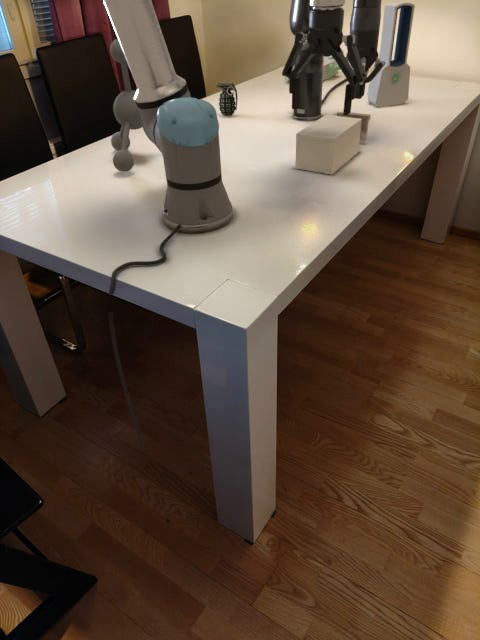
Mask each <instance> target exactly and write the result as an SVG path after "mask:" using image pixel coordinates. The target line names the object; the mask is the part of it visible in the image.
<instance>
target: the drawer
mask: <svg viewBox="0 0 480 640" xmlns="http://www.w3.org/2000/svg"><path fill="white" fill-rule="evenodd" d="M343 113H344V111H338V112H336V116H341V117H350V118H359V119H362V122H361V132H360V142H366V141H367V140H368V132H369V121H370V119H371V114H367V113H359V112H351V113H349V114H348V115H343Z"/></svg>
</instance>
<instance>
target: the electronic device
mask: <svg viewBox="0 0 480 640" xmlns="http://www.w3.org/2000/svg"><path fill="white" fill-rule="evenodd" d="M415 9H416V5H415V4H414V3H411V2H406V1H399V0H395V1H390V2H388V3H385V4H384V10H383V18H382V27H381V37H380V46H379V53H378V58H379V59H380V60H381V61H384V62H385V66H384V67H383V68H382V69H381V70H380V72H379V73H378V74H377V75H376V76H375V77H374V79H373V80H372V81H370V82H369V83H368V88H367V92H366V96H367V97H366V98H367V101H368V103H370V105H371V104H372V105H373V106H375V107H377V108H382V107H389V106H395V105H396V106H397V105H403V104H406V102H407V101H408V100H409V92H410V77H411V76H410V75H411V66H410V65H409V64H408V63H407V62H408V55H409V50H410V49H409V48H410V41H411V34H412V28H413V21H414V14H415ZM398 13H399V17H398ZM397 19H398V20H397ZM397 21H398V25H397ZM396 29H397V32H396ZM395 36H396V40H395ZM394 43H395V44H394ZM394 45H395V47H394ZM394 48H395V49H394ZM393 51H394V52H393ZM393 53H394V54H393ZM393 55H394V56H393ZM374 69H375V68H374V66H373V67H372V71H373V70H374Z"/></svg>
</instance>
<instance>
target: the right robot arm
mask: <svg viewBox="0 0 480 640" xmlns="http://www.w3.org/2000/svg"><path fill="white" fill-rule="evenodd" d="M382 2H383V0H352V9H351V14H350V21H349V35H351V34H356V46H357V49H358V52H359V56H360V59H361V62H362V65H363V68H364V71H365V75H366V80H364V81H363V82H361V83H358V84H357V91H356V97H355V99H354V100H361V99H362V98H363V97H364V96H365V92H366V84H369V83H370V81H372V80H373V79H374V77H375V76H376V75H377V74H378V73H379V72H380V70H381V69H382V68H383V67H384V66H385V62H384V61H381V60H380V59H379V52H378V46H379V37H380V28H381V20H382ZM309 4H310V0H291V3H290V8H289V28H290V31H291V33H292V35H293V36H295V35H296V33H299V32H302V31H303V32H304V33H306V34H308V33H309V11H310V10H311V9H312V7H311V6H310V5H309ZM309 47H310V45H309V43H308V42H307V40H306V42H305V43H303V46H302V49H301V51H300V53H299V55H298V58H297V60H296V62H295V64H294V68H295V67H296V65H297V64H298V63H299V61H300V60H301V59H302V57H303V56H304V55H305V52H306V51H307V50H308V48H309ZM345 55H346V56H345V58H346V59H347V61H348V63H349V64H350V66H351V68H352V69H353V66H352V63H351V60H350V57H349V53H348V51H347V53H346V54H345ZM324 57H325V56H316V55H314V56H313V57H312V58H311V59H310V61H309V62H308V63H307V65H306V66H305V67H304V68H303V70H302V71H301V72H300V74H299V75H298V77H297V78H300V103H299V107H298V108H296V109H292V111H293V113H292V118H294V119H295V120H298V121H299V120H300V121H312V120H313V121H314V120H319V119H320V118H322V105H323V104H324V102H326V99H327V98H328V96H329V95H330V94H331V92H332V91H334V89H336V88H338V87H339V86H341V85H342V84H343V83H346V82H348V80H347V79H346V78H344V79H343V80H340V82H338V83H336V84H335V85H333V87H330V89H329V90H328V91H327V93H326V94H325V95H324V97H323V82H324V81H323V63H324ZM372 66H373V67H374V68H375V69H374V70H373V69H372V71H371V72H370V74H369V71H370V69H371V68H372ZM353 71H354V69H353ZM354 73H355V72H354ZM297 78H296V79H297Z"/></svg>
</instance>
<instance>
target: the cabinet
mask: <svg viewBox="0 0 480 640" xmlns="http://www.w3.org/2000/svg"><path fill="white" fill-rule="evenodd" d="M361 122H362V119H359V118H350V117H341V116H337V115H334V114H333V115H332V114H325V115H323V116H321V117H320V118H318V119H316V120H315V121H313V122H312V123H311V124H309V125H308V126H306V127H305V128H303V129H302V130H300V131H298V132H297V133H296V134H295V166H294V167H295V169H297V170H302V171H309V172H313V173H320V174H324V175H325V174H326V175H331V176H333V175H334V174H335V173H336V172H337V171H338V170H339V169H340V168H342V167H343V166H344V165H345V164H347V163H348V162H349V161H350V160H351V159H353V158H354V157H355V156H356V155H357V154H358V153H359V151H360V142H361V141H360V132H361Z"/></svg>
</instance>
